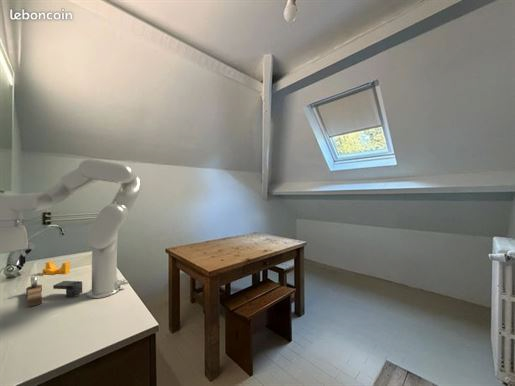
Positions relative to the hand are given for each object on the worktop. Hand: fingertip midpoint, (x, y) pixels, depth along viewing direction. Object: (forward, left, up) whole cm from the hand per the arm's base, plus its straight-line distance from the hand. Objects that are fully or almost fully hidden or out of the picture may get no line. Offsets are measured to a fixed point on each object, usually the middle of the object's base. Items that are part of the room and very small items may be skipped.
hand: (9, 267), depth 89 cm
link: (-7, -3, -15) cm, 17 cm away
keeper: (-18, +1, -16) cm, 24 cm away
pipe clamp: (-10, -35, -16) cm, 40 cm away
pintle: (-6, -10, -12) cm, 17 cm away
